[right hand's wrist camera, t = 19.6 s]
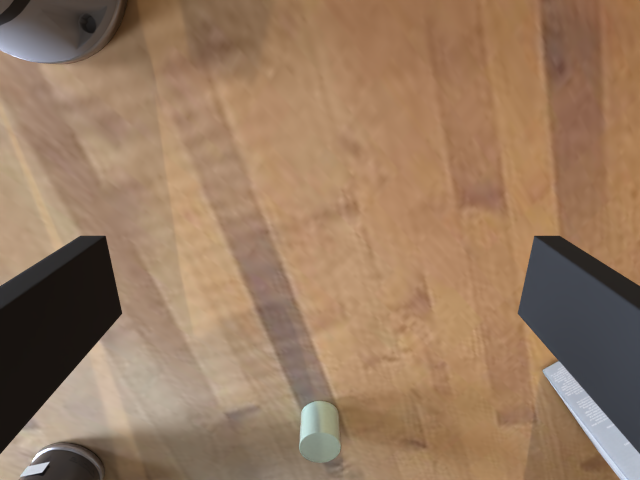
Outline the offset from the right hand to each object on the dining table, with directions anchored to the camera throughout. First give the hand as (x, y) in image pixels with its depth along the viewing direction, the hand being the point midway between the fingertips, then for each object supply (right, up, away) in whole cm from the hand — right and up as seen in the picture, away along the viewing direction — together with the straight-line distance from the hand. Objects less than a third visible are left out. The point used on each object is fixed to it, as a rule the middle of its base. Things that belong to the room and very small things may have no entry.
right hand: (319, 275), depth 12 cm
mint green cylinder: (0, -22, +40) cm, 45 cm away
